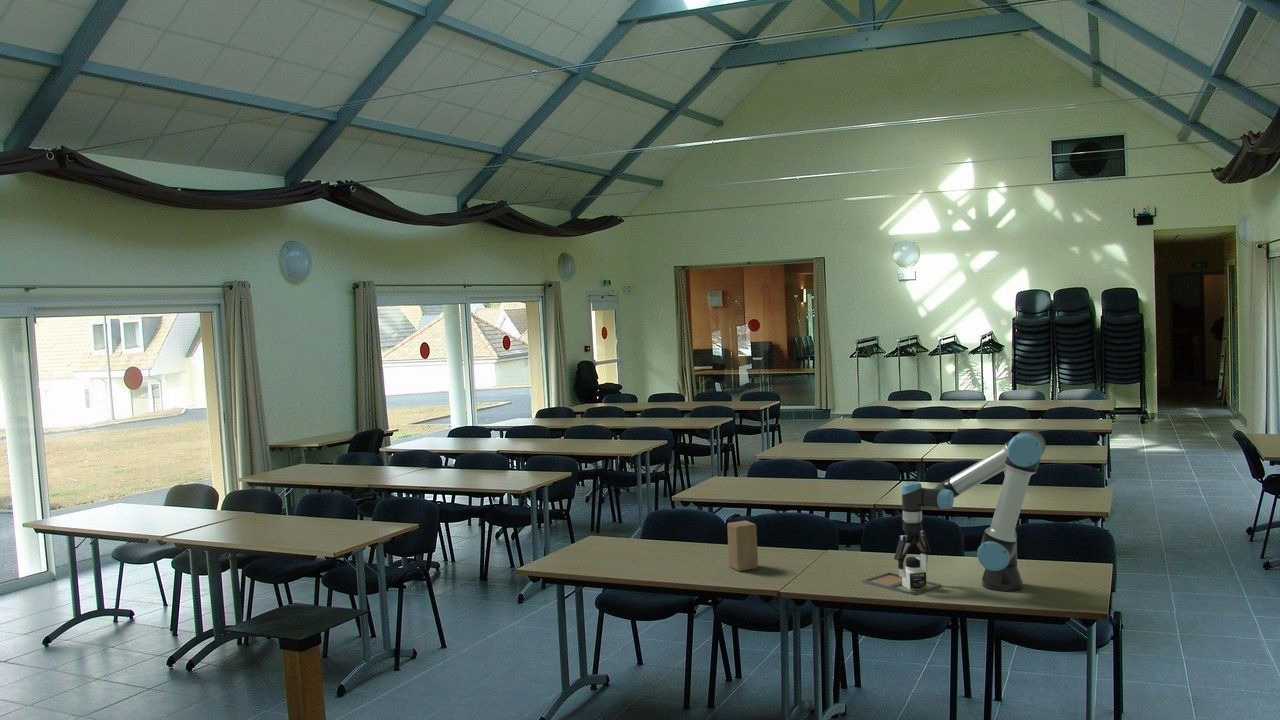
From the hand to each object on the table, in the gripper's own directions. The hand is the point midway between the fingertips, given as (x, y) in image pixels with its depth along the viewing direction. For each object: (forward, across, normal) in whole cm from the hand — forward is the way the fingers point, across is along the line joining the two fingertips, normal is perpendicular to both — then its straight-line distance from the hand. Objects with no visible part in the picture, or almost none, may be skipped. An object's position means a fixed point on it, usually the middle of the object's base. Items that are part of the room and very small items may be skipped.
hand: (913, 573), depth 389 cm
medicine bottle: (+6, 0, 0) cm, 6 cm away
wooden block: (+7, +27, -71) cm, 76 cm away
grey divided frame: (+6, 0, -6) cm, 8 cm away
